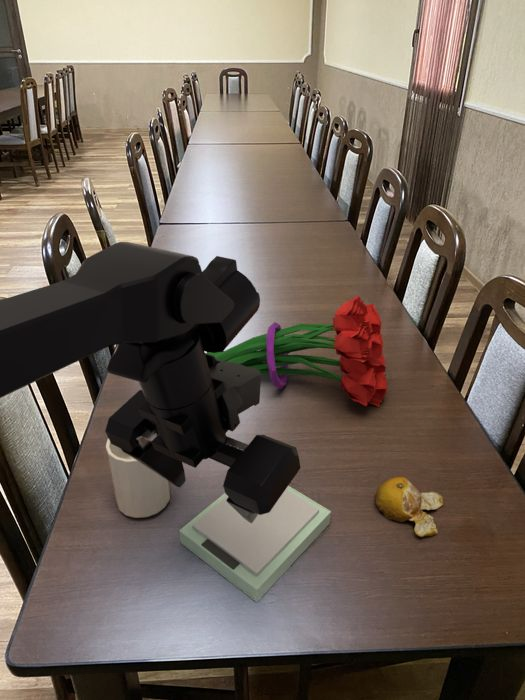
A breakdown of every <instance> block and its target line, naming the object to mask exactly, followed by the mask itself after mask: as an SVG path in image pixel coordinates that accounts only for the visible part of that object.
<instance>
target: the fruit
mask: <svg viewBox="0 0 525 700" xmlns="http://www.w3.org/2000/svg"><path fill="white" fill-rule="evenodd" d="M374 501H375V504H376V507H377V508H378V511H379V512H382V513H383V515H384V517H386V518H387V519H388V520H389V521H391V520H393V521H396V522H399V523H404V522H406V521H410V522H414V523H415V526H414V529H413V532H414V534H416V536H417V537H419V538H424V537H433V536H434V535H437V534H438V533H439V531H438V529H437V525H436V524H435V522H434V519H435V518H434V517H433V516H431V515H430V514H428V513H427V512H425V511H423V510H427V511H430V510H438V509H439V508H441V507H442V506H443V505H444V497H443V496H442V495H441V494H439V493H438V492H435V491H428V492H426V491H425V492H420V490H419V489H418V488H417V487H416V486H414V485H413V483H412V482H411V481H410V480H409V479H408V478H407V477H405V476H394V477H390V478H388V479H386V480H385V481H383V482H382V483H380V484H379V486H378V487H377V489H376V491H375V494H374Z"/></svg>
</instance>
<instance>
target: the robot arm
mask: <svg viewBox="0 0 525 700" xmlns="http://www.w3.org/2000/svg"><path fill="white" fill-rule="evenodd" d="M260 305H261V295H260V294H259V292H258V291H257V289H256V287H255V286H254V284H253V282H252V281H251V280H250V279H249V278H248V277H247V276H246V275H245V274H244V273H242V272H241V271H240V270H238V264H237V260H236V259H233V258H229V257H225V256H219V255H216V256H215V257H214V258H212V260H211V261H210V262H209V263H208V264H207V266H206V267H205V268H204V269H203V270H202V267H201V265H200V260H199V259H198V257H196V256H194V255H191V254H185V253H180V252H175V251H170V250H166V249H162V248H157V247H152V246H148V245H143V244H138V243H135V242H130V241H118V242H116V243H114V244H111V245H109V246H108V247H106V248H104V249H102V250H99V251H98V252H96V253H94V254H92V255H90V256H87V257H86V258H85V259H84V260H83V261H82V263H81V264H80V266H79V268H78V269H77V271H76V273H75V274H73V275H71V276H69V277H67V278H66V279H64V280H62V281H58V282H54V283H52V284H49V285H46V286H43V287H42V286H41V287H39V288H35V289H32V290H29V291H26V292H22V293H19V294H16V295H12V296H9V297H5V298H4V299H0V399H2V398H4V397H5V396H8V395H10V394H12V393H15V392H16V391H19V390H20V389H23V388H25V387H27V386H29V385H31V384H33V383H36V382H37V381H39V380H42V379H44V378H46V377H48V376H50V375H52V374H54V373H56V372H59V371H60V370H63V369H65V368H66V367H68V366H70V365H73V364H75V363H77V362H79V361H81V360H83V359H86V358H88V357H89V356H92V355H94V354H96V353H98V352H100V351H102V350H104V349H106V348H108V347H113V346H116V347H117V348H116V350H115V352H114V353H113V354H112V355H111V356H110V359H109V361H108V364H107V367H106V371H107V373H108V374H110V375H113V376H118V377H122V378H125V379H129V380H131V381H136V382H138V383H139V387H140V388H141V389H139V390H137V392H136V393H135V394H133V395H132V396H131V397H130V398H129V399H128V400H127V401H126V402H125V403H124V404H122V405H121V406H120V407H119V408H118V409H117V410H116V411H115V412H114V413H113V414H112V415H110V416H109V418H108V420H107V423H106V426H105V430H104V431H105V434H106V436H107V439H108V438H109V440H110V442H111V444H112V445H115V446H117V447H119V448H121V449H122V451H123V452H124V453H126V454H128V455H129V456H131V457H133V458H134V459H136V460H137V461H139V462H140V463H142V464H143V465H145V466H146V467H148V468H149V469H151V470H152V471H154V472H156V473H157V474H159V475H160V476H162V477H163V478H165V479H166V480H168V481H169V482H170V484H171V485H173V486H175V487H176V488H179V489H180V488H181V487H183V485H184V484H185V483H186V480H187V479H186V473H185V468H184V464H185V465H188V466H190V467H192V468H194V469H196V468H197V467H198V466H199V465H200V464H201V463H202V461H203V460H208V459H210V460H213V461H215V462H217V463H219V464H221V465H224V466H226V467H228V469H227V471H226V474H225V478H224V481H223V484H222V487H223V490H224V493H225V494H226V495H227V496H228V498H227V500H226V501H227V502H228V503H229V504H230V505H231V506H232V507H233V508H234V509H235V510H236V511H237V512H238V513H239V514H240V515H241V516H242V517H243V518H244V519H246V520H247V521H248V522H250V523H253V521H254V520H255V519H256V517H257V515H258V514H259V515H262V514H266V513H269V512H270V511H271V510H272V508H273V507H274V505H275V504H276V502H277V501H278V500H279V498H280V497H281V495H282V494H283V492H284V491H285V490H286V488H287V487H288V486H290V484H291V483H292V481H293V479H294V478H295V477H296V475H297V474H298V473H299V471H300V469H302V468H301V462H300V456H299V452H298V449H297V447H296V446H293V445H291V444H288V443H286V442H283V441H281V440H278V439H275V438H273V437H271V436H267V435H265V434H256V435H255V436H254V437H253V438H252V440H251V441H250V442H249V443H248V444H247V443H245V442H242V441H240V440H237V439H236V438H235V439H234V438H232V437H229V436H227V432H228V431H230V432H234V431H235V430H236V429H237V428H238V426H240V424H241V420H240V417H239V415H240V414H242V413H244V412H245V411H246V410H248V409H250V408H251V407H253V406H254V407H256V406H258V405H259V404H260V401H261V381H262V374H261V372H260V371H259V370H256V369H253V368H250V367H247V366H244V365H241V364H237V363H234V362H230V361H222V360H218V359H217V360H216V359H215V357H214V356H213V355H210V354H207V352H211V353H216V352H223V351H225V350H227V348H228V347H229V345H230V344H231V343H232V342H233V340H234V339H235V338H236V337H237V336H238V334H239V333H240V332H241V331H242V330H243V328H245V326H246V325H247V324H248V323H249V321H250V320H252V318H253V317H254V316H255V315H256V313H258V311H259V310H260Z"/></svg>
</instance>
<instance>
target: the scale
mask: <svg viewBox="0 0 525 700" xmlns="http://www.w3.org/2000/svg"><path fill="white" fill-rule="evenodd" d="M227 498H228V496H227V495H226V494H225V492H224V493H222V495H220V496H219V497H218V498H217V499H216V500H214V501H213V502H212V503H211V504H209V505H208V506H207V507H206V508H205V509H203V510H202V511H201V512H200V513H198V514H197V515H196V516H195V517H193V519H191V520H190V521H189V522H187V523H186V524H185V525H184V526H183V527H182V528H180V529H179V542H180V544H182V545H183V546H184V547H185V548H186V549H188V550H189V551H191V552H192V553H193V554H194V555H195V556H197V557H198V558H199V559H200V560H202V561H203V562H205V564H207V565H208V566H209V567H211V568H212V569H213V570H214V571H216V572H217V573H218V574H220V575H222V577H223V578H224V579H226V580H227V581H228V582H230V583H231V584H232V585H233V586H235V587H236V588H238V589H239V590H240V591H241V592H242V593H244V594H245V595H246V596H248V597H249V598H250V599H252V600H253V601H254V602H255V603H258V602H259V601H260V600H261V599H262V598H263V597H264V595H265V594H266V593H267V592H268V591H269V590H270V589H271V588H272V587H273V586H274V585H275V583H276V582H277V581H278V580H279V579H280V578H281V577H282V576H283V575H284V574H285V573H286V572H287V570H288V569H290V567H291V566H292V565H293V564H294V563H295V562H296V561H297V560H298V558H300V556H301V555H302V554H304V552H305V551H306V550H307V549H308V548H309V547H310V546H311V545H312V544H313V542H314V541H315V540H316V539H317V538H318V537H319V536H320V535H321V534H322V533H323V532H324V530H326V528H328V526H329V525H330V524H331V516H332V511H331V510H330V509H329V508H326V507H325V506H323V505H321V504H320V503H318V502H317V501H315V500H313V499H311V498H310V497H308V496H307V495H305V494H303V493H301V492H300V491H299V490H296V489H295V488H293V487H291V486H290V485H288V487H287V488H286V490H285V491H284V492H283V494H282V495H281V497H280V498H279V500H278V501H277V502H276V504H275V505H274V507H273V508H272V510H271V511H270V512H269V513H266V514H262V515H259V514H258V515H257V517H256V519H255V520H254V521H253V523H250V522H248V521H247V520H246V519H244V518H243V517H242V516H241V515H240V514H239V513H238V512H237V511H236V510H235V509H234V508H233V507H232V506H231V505H230V504H229V503H228V502H227V501H226V500H227Z"/></svg>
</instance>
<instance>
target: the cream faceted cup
mask: <svg viewBox="0 0 525 700" xmlns="http://www.w3.org/2000/svg"><path fill="white" fill-rule="evenodd" d="M105 451H106V456H107V461H108V466H109V472H110V476H111V482H112V487H113V493H114V499H115V503H116V505H117V509H118V510H119V512H121V513H122V514H124V515H125V516H127V517H129V518H134V519H140V518H148V517H151V516H154V515H157V514H158V513H160V512H161V511H162V510H163V509H165V508H166V506H167V505H168V503H169V502H170V500H171V483H170V482H169V481H168V480H166V479H165V478H163V477H162V476H160V475H159V474H157V473H156V472H154V471H152V470H151V469H149V468H148V467H146V466H145V465H143V464H142V463H140V462H139V461H137V460H136V459H134V458H133V457H131V456H129V455H128V454H126V453H124V452H123V451H122V449H121V448H119V447H117V446H115V445H112V444H111V442H110V440H109V438H108V437H107V441H106V444H105Z"/></svg>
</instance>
